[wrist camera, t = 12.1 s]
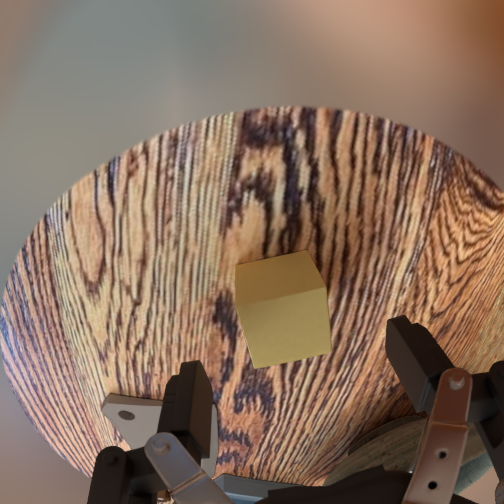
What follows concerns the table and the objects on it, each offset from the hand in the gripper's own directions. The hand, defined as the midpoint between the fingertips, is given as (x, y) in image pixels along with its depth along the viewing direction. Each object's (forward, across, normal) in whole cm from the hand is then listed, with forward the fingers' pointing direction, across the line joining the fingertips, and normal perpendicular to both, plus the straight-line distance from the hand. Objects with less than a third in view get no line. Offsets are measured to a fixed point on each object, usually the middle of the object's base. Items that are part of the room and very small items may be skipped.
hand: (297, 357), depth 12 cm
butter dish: (+6, +8, +29) cm, 31 cm away
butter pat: (+6, 0, 0) cm, 6 cm away
